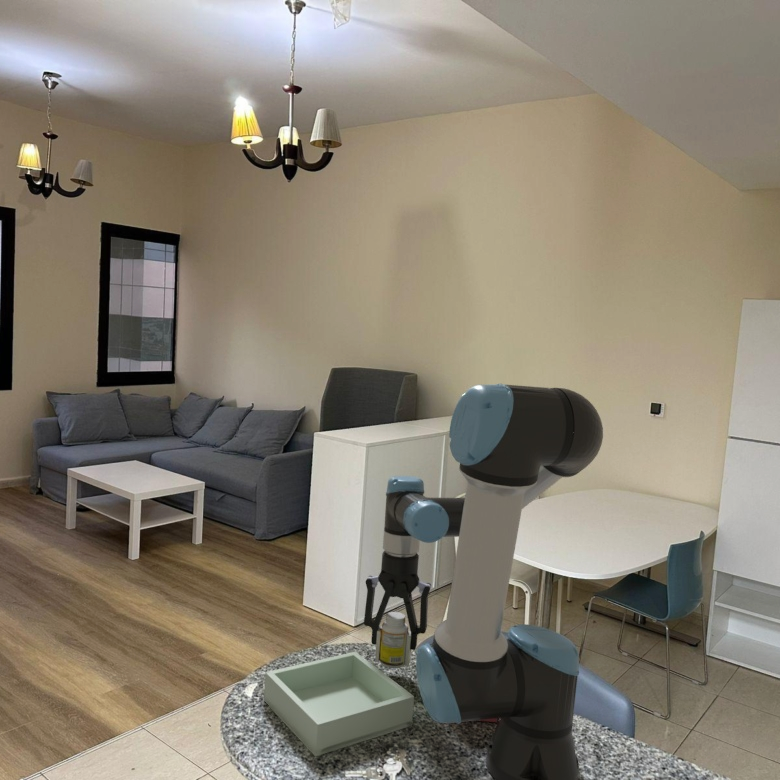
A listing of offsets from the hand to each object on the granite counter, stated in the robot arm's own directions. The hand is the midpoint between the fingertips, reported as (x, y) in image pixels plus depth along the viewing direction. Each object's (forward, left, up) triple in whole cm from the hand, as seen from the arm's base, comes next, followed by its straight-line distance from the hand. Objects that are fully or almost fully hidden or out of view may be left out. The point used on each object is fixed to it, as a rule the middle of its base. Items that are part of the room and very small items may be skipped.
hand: (392, 661), depth 147 cm
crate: (-7, +18, -3) cm, 20 cm away
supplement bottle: (0, 0, -1) cm, 1 cm away
